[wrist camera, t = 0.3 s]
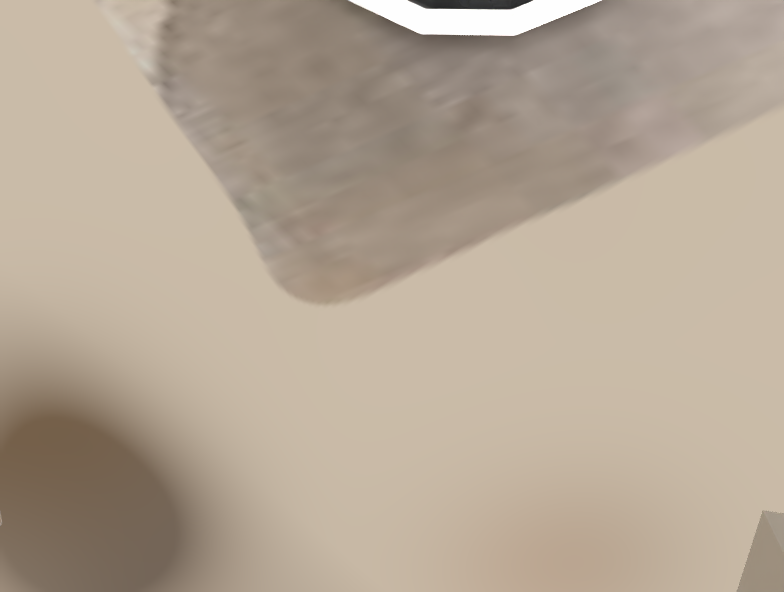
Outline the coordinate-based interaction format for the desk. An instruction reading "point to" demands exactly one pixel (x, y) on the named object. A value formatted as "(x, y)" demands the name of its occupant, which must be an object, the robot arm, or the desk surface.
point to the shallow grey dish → (472, 14)
